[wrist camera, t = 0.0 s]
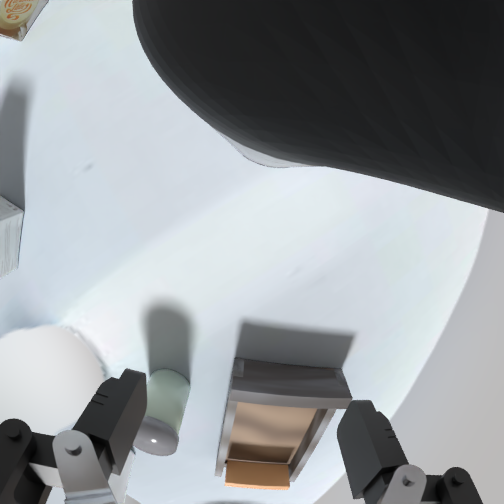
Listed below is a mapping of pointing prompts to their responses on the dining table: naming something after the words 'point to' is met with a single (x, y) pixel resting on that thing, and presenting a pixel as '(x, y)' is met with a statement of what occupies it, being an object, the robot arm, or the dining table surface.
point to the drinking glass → (121, 480)
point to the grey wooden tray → (278, 413)
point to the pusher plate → (257, 475)
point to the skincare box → (9, 236)
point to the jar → (163, 413)
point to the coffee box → (18, 17)
